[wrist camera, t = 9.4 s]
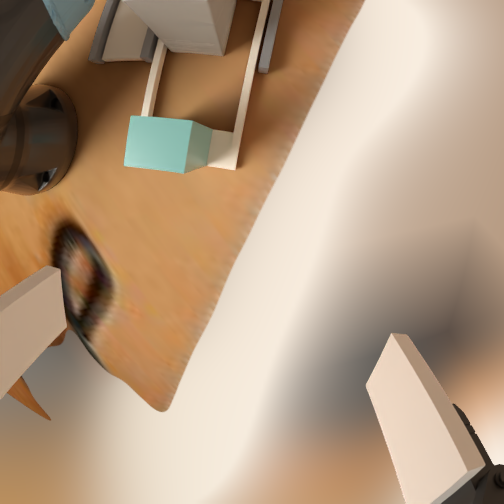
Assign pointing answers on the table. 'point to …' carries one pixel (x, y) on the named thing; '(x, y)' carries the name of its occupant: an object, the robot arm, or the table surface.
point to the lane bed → (152, 39)
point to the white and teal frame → (187, 125)
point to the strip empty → (125, 36)
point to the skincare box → (188, 23)
